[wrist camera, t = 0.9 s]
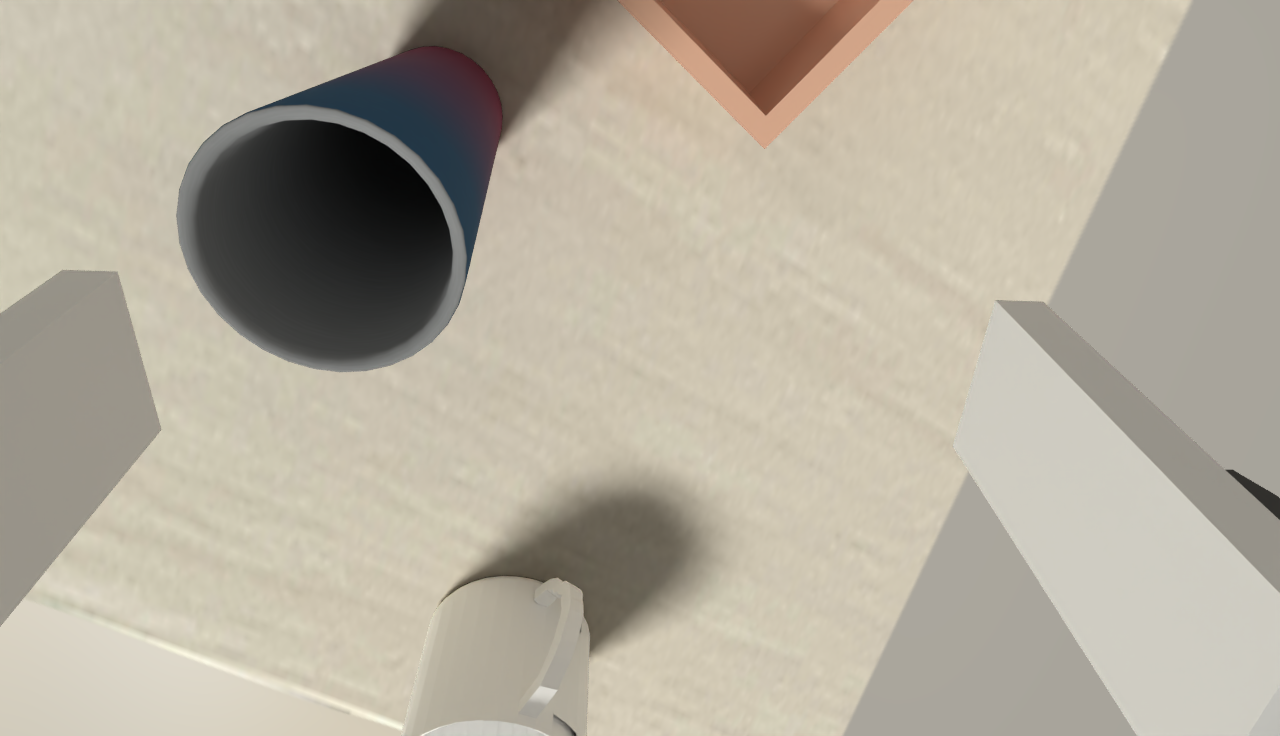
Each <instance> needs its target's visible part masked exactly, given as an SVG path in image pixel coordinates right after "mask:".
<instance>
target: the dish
mask: <svg viewBox="0 0 1280 736" xmlns="http://www.w3.org/2000/svg"><path fill="white" fill-rule="evenodd" d="M617 1H618V2H619V3H620V4H621V5H622V6H623V7H624V8H625V9H626V10H627V11H628V12H629V13H630V14H631V15H632V16H633V17H634V18H635V19H636V20H637V21H638V22H639V23H640V24H641V25H642V26H643V27H644V28H645V29H646V30H647V31H648V32H649V33H650V34H651V35H652V36H653V37H654V38H655V39H656V40H657V41H658V42H659V43H660V44H661V45H662V46H663V47H664V48H665V49H666V50H667V51H668V52H669V53H670V54H671V55H672V56H673V57H674V58H675V59H676V60H677V61H678V62H679V63H680V64H681V65H682V66H683V67H684V68H685V69H686V70H687V71H688V72H689V73H690V74H691V75H692V76H693V77H694V78H695V79H696V80H697V81H698V82H699V83H700V84H701V85H702V86H703V87H704V88H705V89H706V90H707V91H708V92H709V93H710V94H711V95H712V96H713V97H714V98H715V100H716V101H717V102H718V103H719V104H720V105H721V106H722V107H723V108H724V109H725V110H726V111H727V112H728V113H729V114H730V115H731V116H732V117H733V118H734V119H735V120H736V121H737V122H738V123H739V124H740V125H741V126H742V127H743V128H744V129H745V130H746V131H747V132H748V133H749V134H750V135H751V136H752V137H753V138H754V139H755V140H756V141H757V142H758V143H759V144H760V145H761V146H762V147H763V148H764V149H765V148H766V147H767V146H768V145H769V144H770V143H771V142H772V141H773V140H774V139H775V138H776V137H777V136H778V135H779V134H780V133H781V132H782V131H783V130H784V129H785V128H786V127H787V126H788V125H789V124H790V123H791V122H792V121H793V120H794V119H795V118H796V117H797V116H798V115H799V114H800V113H801V112H802V111H803V110H804V109H805V108H806V107H807V106H808V105H809V104H810V103H811V102H812V101H813V100H814V99H815V98H816V97H817V96H818V95H819V94H820V93H821V92H822V91H823V90H824V89H825V88H826V87H827V86H828V85H829V84H830V83H831V82H832V81H833V80H834V79H835V78H836V77H837V76H838V75H839V74H840V73H841V72H842V71H843V70H844V69H845V68H846V67H847V66H848V65H849V64H850V63H851V62H852V61H853V60H854V59H855V58H856V57H857V56H858V55H859V54H860V53H861V52H862V51H863V50H864V49H865V48H866V47H867V46H868V45H869V44H870V43H871V42H872V41H873V40H874V39H875V38H876V37H877V36H878V35H879V34H880V33H881V32H882V31H883V30H884V29H885V28H886V27H887V26H888V25H889V24H890V23H891V22H892V21H893V20H894V19H895V18H896V17H897V16H898V15H899V14H900V13H901V12H902V11H903V10H904V9H905V8H906V7H907V6H908V5H909V4H910V3H911V2H912V1H913V0H617Z"/></svg>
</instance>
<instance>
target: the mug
mask: <svg viewBox="0 0 1280 736" xmlns="http://www.w3.org/2000/svg"><path fill="white" fill-rule="evenodd" d="M583 614H584V607H583V593H582V591H581V589H579V588H577V587H576V586H574V585H573V584H571V583H569V582H567V581H562V580H560V579H559V578H558V577H557V578H552V579H550V580H548V581H546V582H545V583H543V582H540V581H537V580H534V579H529V578H524V577H518V576H497V577H489V578H484V579H480V580H477V581H473V582H471V583H469V584H467V585H464V586H462V587H460V588H459V589H457V590H456V591H455V592H453V593H452V594H450V595H449V596H448V597H446V598H445V599H444V600H443V601H442V603H441V604H440V605H439V606H438V607H437V608H436V610H435V612H434V614H433V616H432V618H431V621H430V625H429V628H428V632H427V636H426V640H425V644H424V648H423V652H422V656H421V659H420V663H419V667H418V671H417V675H416V679H415V683H414V687H413V690H412V694H411V698H410V702H409V706H408V710H407V714H406V718H405V721H404V725H403V729H402V733H401V736H587V710H588V681H589V652H590V632H589V628H588V624H587V622H586V620H585V618H584V616H583Z"/></svg>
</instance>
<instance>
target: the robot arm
mask: <svg viewBox="0 0 1280 736" xmlns="http://www.w3.org/2000/svg"><path fill="white" fill-rule="evenodd" d="M160 431H161V426H160V423H159V419H158V415H157V412H156V408H155V405H154V401H153V397H152V394H151V390H150V387H149V383H148V379H147V376H146V372H145V369H144V365H143V361H142V358H141V354H140V351H139V347H138V343H137V340H136V336H135V333H134V329H133V326H132V322H131V318H130V315H129V311H128V308H127V304H126V300H125V297H124V293H123V290H122V286H121V282H120V279H119V275H118V272H109V271H78V270H62V271H60V272H59V273H58V274H56V275H55V276H53V277H52V278H50V279H49V280H48V281H46V282H45V283H43V284H42V285H40V286H39V287H38V288H36V289H35V290H33V291H32V292H30V293H29V294H28V295H26V296H25V297H23V298H22V299H20V300H19V301H18V302H16V303H15V304H13V305H12V306H10V307H9V308H8V309H6V310H5V311H3V312H2V313H1V314H0V626H1V625H2V624H3V623H4V621H5V620H6V619H7V618H8V616H9V615H10V614H11V613H12V612H13V610H14V609H15V608H16V607H17V605H18V604H19V603H20V602H21V601H22V599H23V598H24V597H25V596H26V595H27V593H28V592H29V591H30V590H31V588H32V587H33V586H34V585H35V584H36V582H37V581H38V580H39V579H40V577H41V576H42V575H43V574H44V573H45V571H46V570H47V569H48V568H49V566H50V565H51V564H52V563H53V562H54V560H55V559H56V558H57V557H58V555H59V554H60V553H61V552H62V551H63V549H64V548H65V547H66V546H67V544H68V543H69V542H70V541H71V540H72V538H73V537H74V536H75V535H76V533H77V532H78V531H79V530H80V529H81V527H82V526H83V525H84V524H85V522H86V521H87V520H88V519H89V518H90V516H91V515H92V514H93V513H94V511H95V510H96V509H97V508H98V507H99V505H100V504H101V503H102V502H103V500H104V499H105V498H106V497H107V496H108V494H109V493H110V492H111V491H112V489H113V488H114V487H115V486H116V485H117V483H118V482H119V481H120V480H121V478H122V477H123V476H124V475H125V474H126V472H127V471H128V470H129V469H130V467H131V466H132V465H133V464H134V463H135V461H136V460H137V459H138V458H139V456H140V455H141V454H142V453H143V452H144V450H145V449H146V448H147V447H148V445H149V444H150V443H151V442H152V441H153V439H154V438H155V437H156V436H157V434H158V433H159V432H160ZM953 447H954V449H955V451H956V452H957V454H958V455H959V457H960V458H961V460H962V462H963V463H964V465H965V466H966V468H967V469H968V471H969V473H970V474H971V476H972V477H973V479H974V480H975V482H976V484H977V485H978V487H979V488H980V490H981V491H982V493H983V495H984V496H985V498H986V499H987V501H988V502H989V504H990V505H991V507H992V509H993V510H994V512H995V513H996V515H997V516H998V518H999V520H1000V521H1001V523H1002V524H1003V526H1004V528H1005V529H1006V531H1007V532H1008V534H1009V535H1010V537H1011V539H1012V540H1013V542H1014V543H1015V545H1016V546H1017V548H1018V550H1019V551H1020V553H1021V554H1022V556H1023V557H1024V559H1025V561H1026V562H1027V564H1028V565H1029V567H1030V568H1031V570H1032V572H1033V573H1034V575H1035V576H1036V577H1037V579H1038V581H1039V583H1040V584H1041V585H1042V587H1043V589H1044V590H1045V592H1046V594H1047V595H1048V596H1049V598H1050V600H1051V601H1052V603H1053V604H1054V606H1055V608H1056V609H1057V611H1058V612H1059V614H1060V615H1061V617H1062V619H1063V620H1064V622H1065V623H1066V625H1067V627H1068V628H1069V630H1070V631H1071V633H1072V634H1073V636H1074V637H1075V639H1076V641H1077V642H1078V644H1079V645H1080V647H1081V648H1082V650H1083V651H1084V653H1085V655H1086V656H1087V658H1088V659H1089V661H1090V662H1091V664H1092V666H1093V667H1094V669H1095V670H1096V672H1097V674H1098V675H1099V677H1100V678H1101V680H1102V681H1103V683H1104V684H1105V686H1106V688H1107V689H1108V691H1109V692H1110V694H1111V696H1112V697H1113V699H1114V700H1115V702H1116V703H1117V705H1118V707H1119V708H1120V710H1121V711H1122V713H1123V714H1124V716H1125V718H1126V719H1127V721H1128V722H1129V724H1130V725H1131V727H1132V728H1133V730H1134V732H1135V733H1136V735H1137V736H1280V498H1279V497H1278V496H1276V495H1275V494H1273V493H1271V492H1270V491H1268V490H1266V489H1264V488H1263V487H1261V486H1259V485H1257V484H1256V483H1254V482H1252V481H1251V480H1249V479H1247V478H1245V477H1244V476H1242V475H1240V474H1239V473H1237V472H1235V471H1234V470H1225V469H1224V468H1223V467H1222V466H1220V465H1219V464H1218V463H1217V462H1216V461H1215V460H1214V459H1213V458H1212V457H1211V456H1210V455H1209V454H1207V453H1206V452H1205V451H1204V450H1203V449H1202V448H1201V447H1200V446H1199V445H1198V444H1197V443H1196V442H1195V441H1193V440H1192V439H1191V438H1190V437H1189V436H1188V435H1187V434H1186V433H1185V432H1184V431H1183V430H1182V429H1180V428H1179V427H1178V426H1177V425H1176V424H1175V423H1174V422H1173V421H1172V420H1171V419H1170V418H1169V417H1167V416H1166V415H1165V414H1164V413H1163V412H1162V411H1161V410H1160V409H1159V408H1158V407H1157V406H1155V405H1154V404H1153V403H1152V402H1151V401H1150V400H1149V399H1148V398H1147V397H1146V396H1145V395H1144V394H1143V393H1141V392H1140V391H1139V390H1138V389H1137V388H1136V387H1135V386H1134V385H1133V384H1132V383H1131V382H1130V381H1128V380H1127V379H1126V378H1125V377H1124V376H1123V375H1122V374H1121V373H1120V372H1119V371H1118V370H1117V369H1115V368H1114V367H1113V366H1112V365H1111V364H1110V363H1109V362H1108V361H1107V360H1106V359H1105V358H1103V357H1102V356H1101V355H1100V354H1099V353H1098V352H1097V351H1096V350H1095V349H1094V348H1093V347H1092V346H1091V345H1089V344H1088V343H1087V342H1086V341H1085V340H1084V339H1083V338H1082V337H1081V336H1079V334H1078V333H1076V332H1075V331H1074V330H1073V329H1072V328H1071V327H1070V326H1069V325H1068V324H1067V323H1066V322H1065V321H1063V320H1062V319H1061V318H1060V317H1059V316H1058V315H1057V314H1056V313H1055V312H1054V311H1052V310H1051V309H1050V308H1049V307H1048V306H1047V305H1046V304H1045V303H1044V302H1034V301H1003V300H995V303H994V307H993V310H992V314H991V317H990V321H989V324H988V327H987V331H986V334H985V338H984V341H983V344H982V348H981V351H980V355H979V358H978V362H977V365H976V368H975V372H974V375H973V379H972V382H971V385H970V389H969V392H968V396H967V399H966V403H965V406H964V409H963V413H962V416H961V420H960V423H959V426H958V430H957V433H956V437H955V440H954V444H953Z"/></svg>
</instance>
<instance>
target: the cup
mask: <svg viewBox="0 0 1280 736" xmlns="http://www.w3.org/2000/svg"><path fill="white" fill-rule="evenodd" d="M502 118H503V116H502V107H501V102H500V99H499V96H498V92H497V90H496V88H495V86H494V84H493V83H492V81H491V79H490V78H489V77H488V75H487V74H486V73H485V71H484V70H483V69H482V68H481V67H480V66H479V65H478V64H476V63H475V62H474V61H473V60H472V59H470V58H468V57H467V56H465V55H463V54H462V53H460V52H457V51H454V50H452V49H449V48H443V47H437V46H429V47H420V48H416V49H412V50H409V51H406V52H404V53H401V54H399V55H396V56H393V57H391V58H388V59H385V60H383V61H380V62H378V63H375V64H372V65H370V66H367V67H365V68H362V69H359V70H357V71H354V72H352V73H349V74H346V75H344V76H341V77H338V78H336V79H333V80H331V81H328V82H325V83H323V84H320V85H318V86H315V87H312V88H310V89H307V90H305V91H302V92H299V93H297V94H294V95H291V96H289V97H286V98H284V99H281V100H278V101H276V102H273V103H271V104H268V105H265V106H263V107H260V108H258V109H255V110H252V111H250V112H247V113H245V114H243V115H242V116H240V117H238V118H236V119H234V120H232V121H230V122H228V123H226V124H224V125H223V126H221V127H220V128H219V129H218V130H217V131H216V132H215V133H214V134H212V135H211V136H210V137H209V138H208V139H207V140H206V141H205V142H203V144H202V145H201V146H200V148H199V149H198V151H197V152H196V154H195V155H194V157H193V158H192V160H191V161H190V163H189V164H188V167H187V169H186V172H185V175H184V178H183V180H182V183H181V186H180V189H179V197H178V206H177V215H176V216H177V225H178V234H179V243H180V246H181V249H182V252H183V255H184V258H185V261H186V264H187V267H188V270H189V271H190V273H191V275H192V277H193V279H194V281H195V282H196V284H197V286H198V288H199V290H200V292H201V293H202V295H203V296H204V297H205V298H206V300H207V301H208V302H209V303H210V305H211V306H212V307H213V308H214V310H215V311H216V312H217V314H218V315H219V316H220V317H221V318H222V319H224V320H225V321H226V322H227V323H228V324H229V325H230V326H231V327H232V328H233V329H234V330H236V331H237V332H238V333H239V334H240V335H242V336H243V337H245V338H246V339H248V340H249V341H251V342H252V343H254V344H255V345H257V346H258V347H260V348H261V349H263V350H265V351H267V352H269V353H271V354H273V355H275V356H278V357H280V358H282V359H284V360H286V361H289V362H292V363H295V364H299V365H302V366H306V367H309V368H313V369H319V370H327V371H335V372H355V371H368V370H373V369H377V368H382V367H386V366H390V365H393V364H395V363H397V362H399V361H402V360H404V359H406V358H409V357H411V356H413V355H414V354H416V353H417V352H419V351H420V350H421V349H423V348H424V347H426V346H427V345H428V344H430V343H431V342H432V341H433V340H434V339H435V338H436V337H437V336H438V335H439V334H440V333H441V331H442V330H443V329H444V328H445V327H446V326H447V325H448V323H449V321H450V320H451V318H452V316H453V314H454V312H455V311H456V309H457V307H458V305H459V303H460V299H461V296H462V293H463V289H464V286H465V282H466V279H467V274H468V270H469V266H470V262H471V257H472V253H473V249H474V244H475V240H476V236H477V232H478V227H479V223H480V219H481V215H482V210H483V206H484V202H485V198H486V193H487V189H488V185H489V181H490V176H491V172H492V168H493V164H494V159H495V155H496V151H497V147H498V142H499V138H500V134H501V130H502Z"/></svg>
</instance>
